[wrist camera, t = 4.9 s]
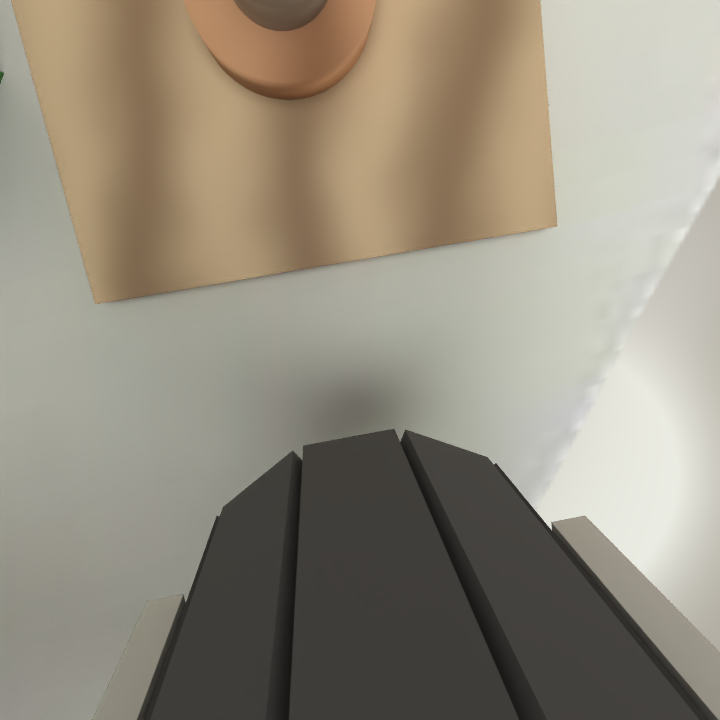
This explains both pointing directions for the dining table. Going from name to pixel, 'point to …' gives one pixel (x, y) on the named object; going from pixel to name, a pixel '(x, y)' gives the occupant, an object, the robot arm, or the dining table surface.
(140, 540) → the dining table surface
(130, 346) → the dining table surface
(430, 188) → the post stand
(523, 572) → the rubber collar
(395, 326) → the dining table surface
